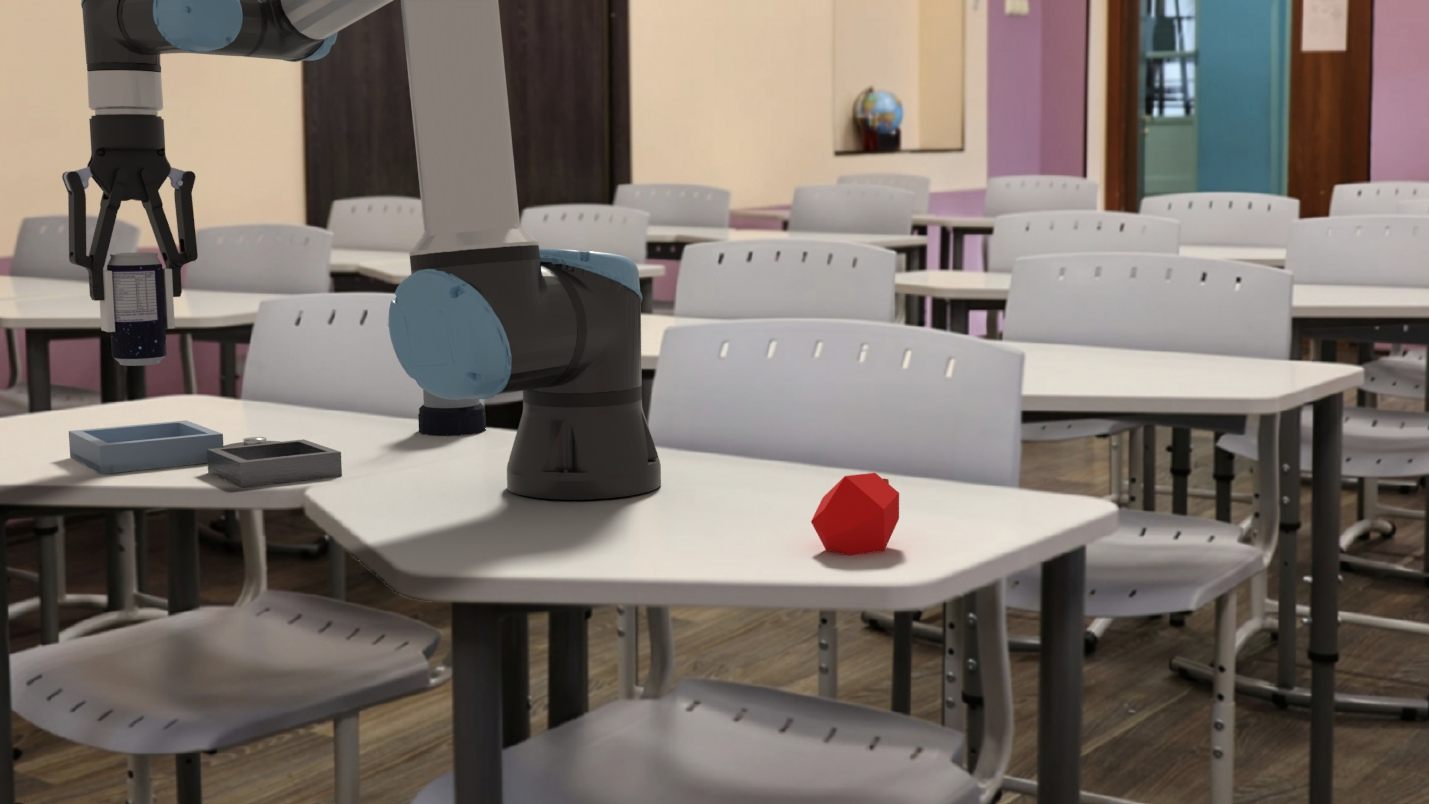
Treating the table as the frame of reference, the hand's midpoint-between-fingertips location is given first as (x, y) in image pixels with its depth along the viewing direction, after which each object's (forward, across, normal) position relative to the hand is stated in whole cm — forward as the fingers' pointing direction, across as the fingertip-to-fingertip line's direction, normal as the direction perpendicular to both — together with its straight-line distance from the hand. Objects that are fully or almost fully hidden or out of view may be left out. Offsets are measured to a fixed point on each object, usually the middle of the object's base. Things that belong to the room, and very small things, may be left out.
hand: (138, 328), depth 177 cm
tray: (+14, 0, 0) cm, 14 cm away
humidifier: (+15, -36, +2) cm, 39 cm away
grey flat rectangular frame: (+14, -8, +15) cm, 22 cm away
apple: (+14, -34, +81) cm, 89 cm away
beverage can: (+4, 0, 0) cm, 4 cm away
